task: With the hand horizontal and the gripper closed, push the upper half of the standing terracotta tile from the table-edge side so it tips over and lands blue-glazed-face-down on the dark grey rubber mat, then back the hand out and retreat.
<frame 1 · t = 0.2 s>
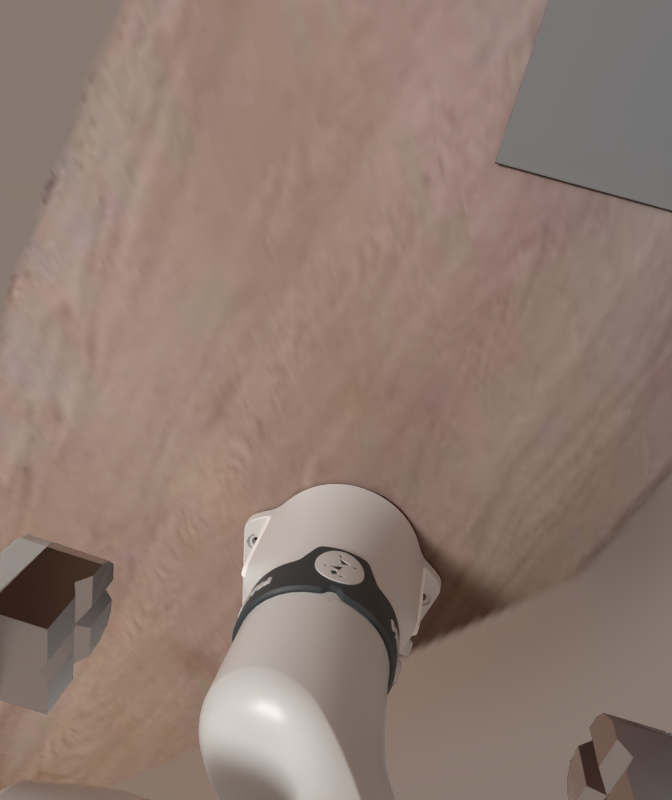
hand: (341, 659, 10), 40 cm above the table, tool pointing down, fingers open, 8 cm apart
mat: (639, 78, 40), on the table
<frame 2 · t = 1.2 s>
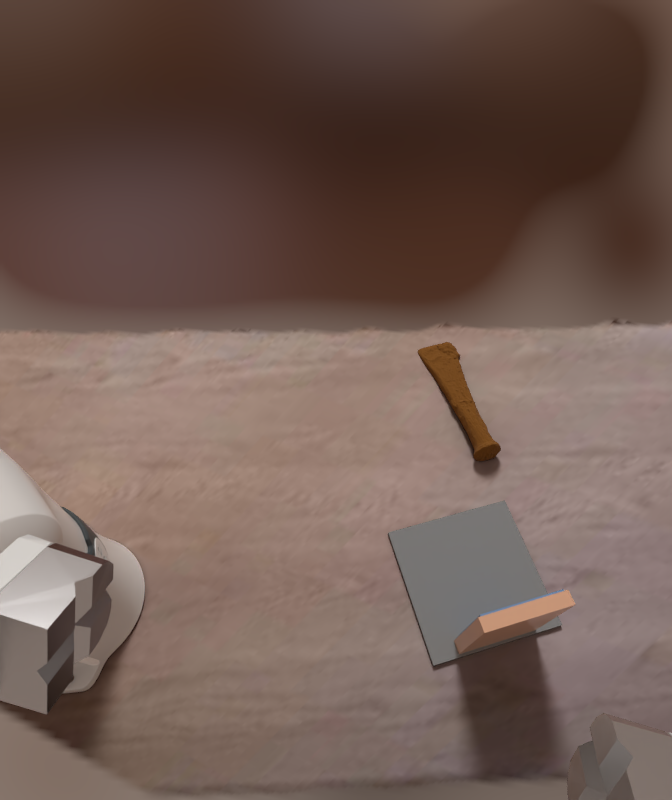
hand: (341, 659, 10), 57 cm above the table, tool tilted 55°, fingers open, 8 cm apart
primitive tool: (454, 401, 80), on the table
mat: (471, 577, 67), on the table
tile: (495, 635, 63), resting on mat
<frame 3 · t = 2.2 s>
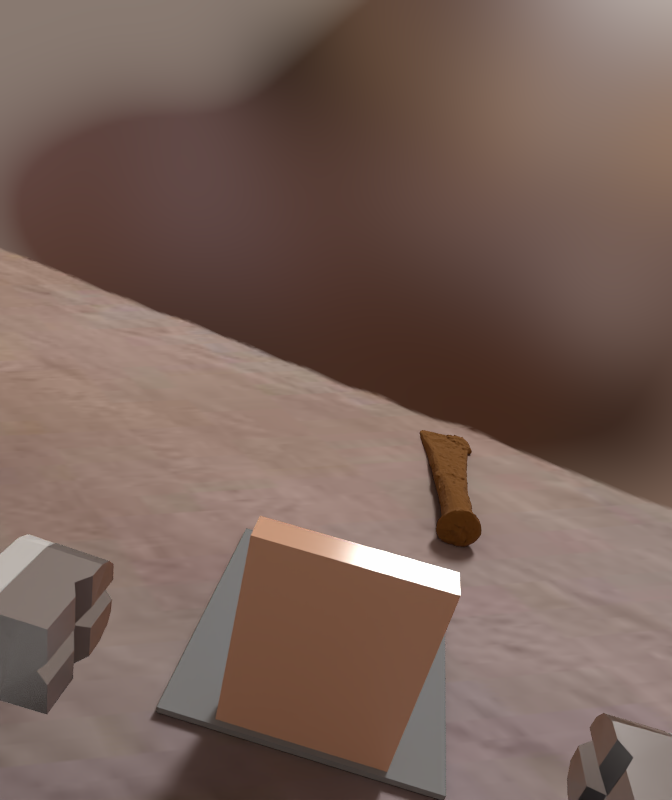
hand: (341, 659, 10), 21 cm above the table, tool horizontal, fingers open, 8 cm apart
primitive tool: (442, 485, 56), on the table
mat: (324, 640, 36), on the table
tile: (303, 732, 30), resting on mat
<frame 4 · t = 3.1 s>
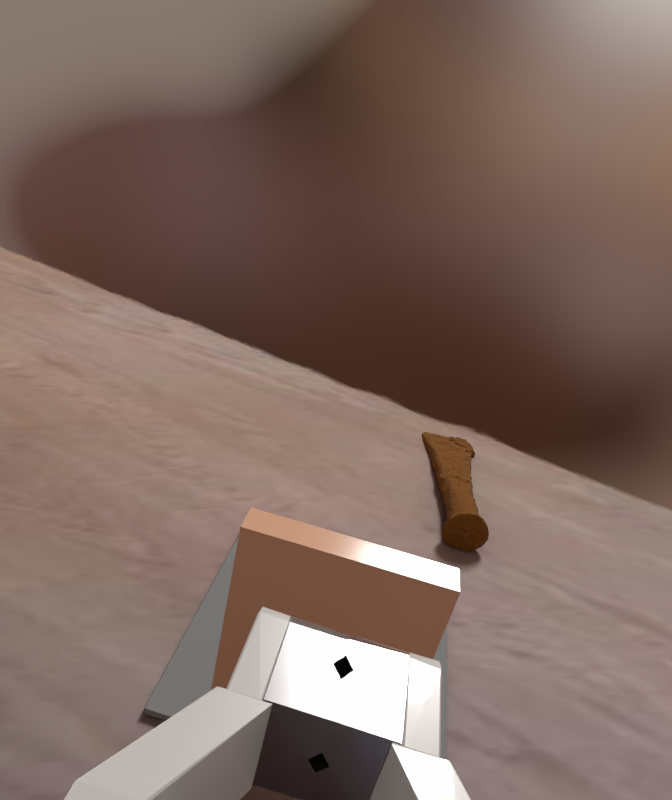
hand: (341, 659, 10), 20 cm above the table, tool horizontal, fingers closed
primitive tool: (446, 488, 55), on the table
mat: (321, 641, 35), on the table
tile: (297, 737, 29), resting on mat
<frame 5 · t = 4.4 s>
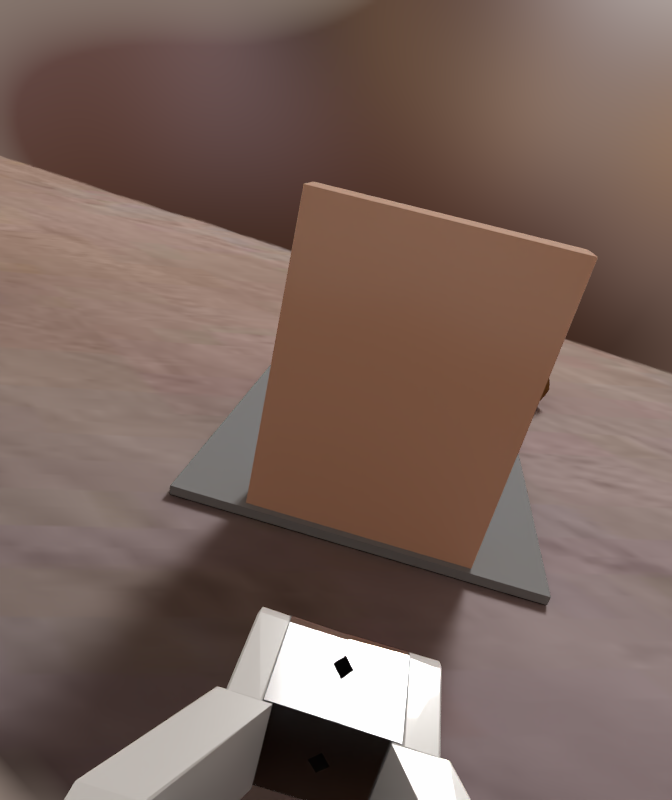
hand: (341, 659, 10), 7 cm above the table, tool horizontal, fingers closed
mat: (375, 455, 29), on the table
tile: (359, 524, 23), resting on mat
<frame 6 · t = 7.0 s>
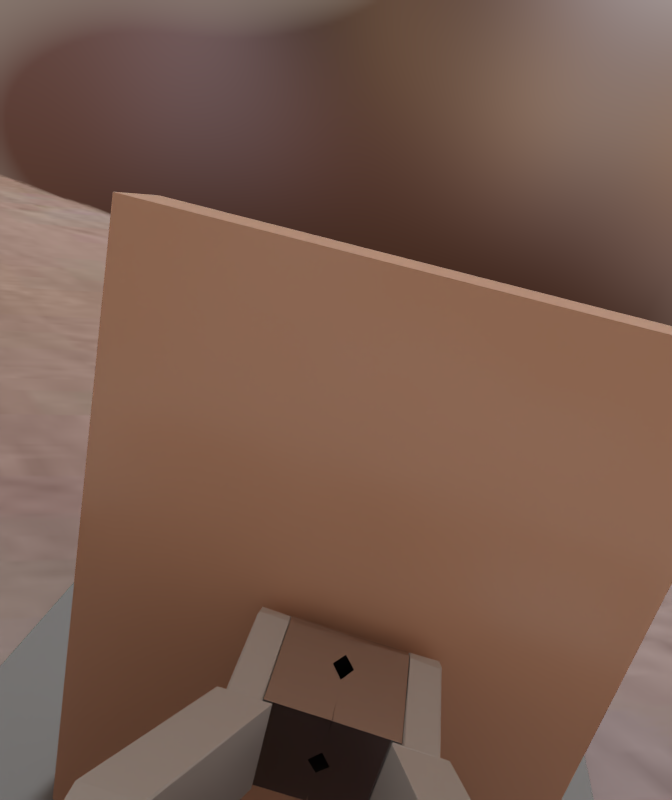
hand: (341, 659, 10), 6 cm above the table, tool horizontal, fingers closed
mat: (327, 624, 18), on the table
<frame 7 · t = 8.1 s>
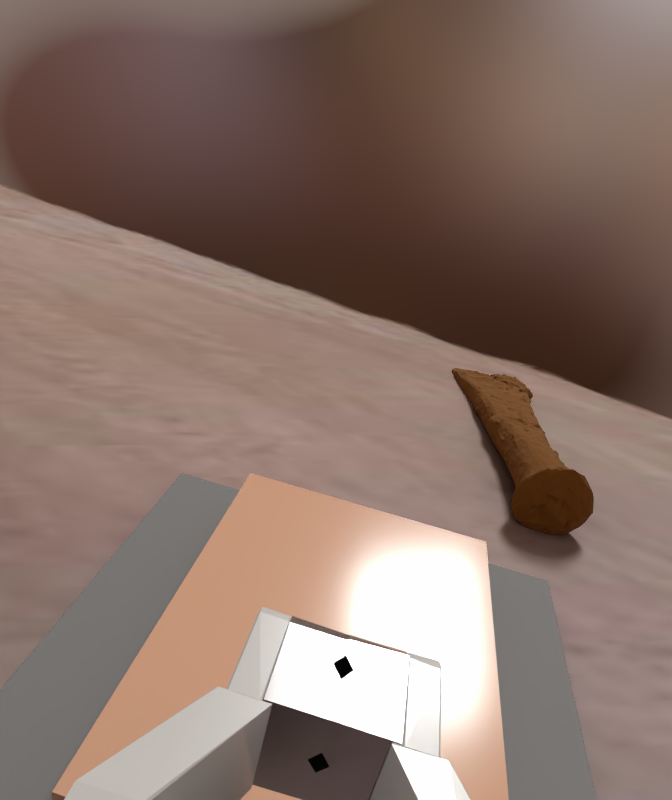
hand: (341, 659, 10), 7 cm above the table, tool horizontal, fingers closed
primitive tool: (498, 441, 35), on the table
mat: (319, 692, 16), on the table
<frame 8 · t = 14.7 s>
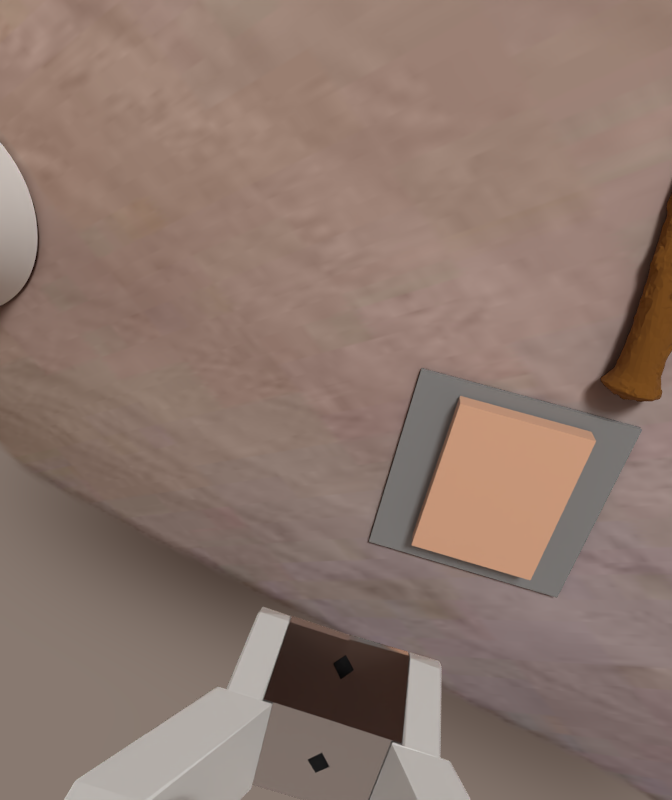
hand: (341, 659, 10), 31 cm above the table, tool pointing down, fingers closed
mat: (493, 487, 43), on the table
tile: (470, 556, 44), point 1 cm above the table, tilted 90°, touching mat
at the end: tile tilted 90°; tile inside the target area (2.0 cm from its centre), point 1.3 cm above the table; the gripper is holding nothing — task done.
